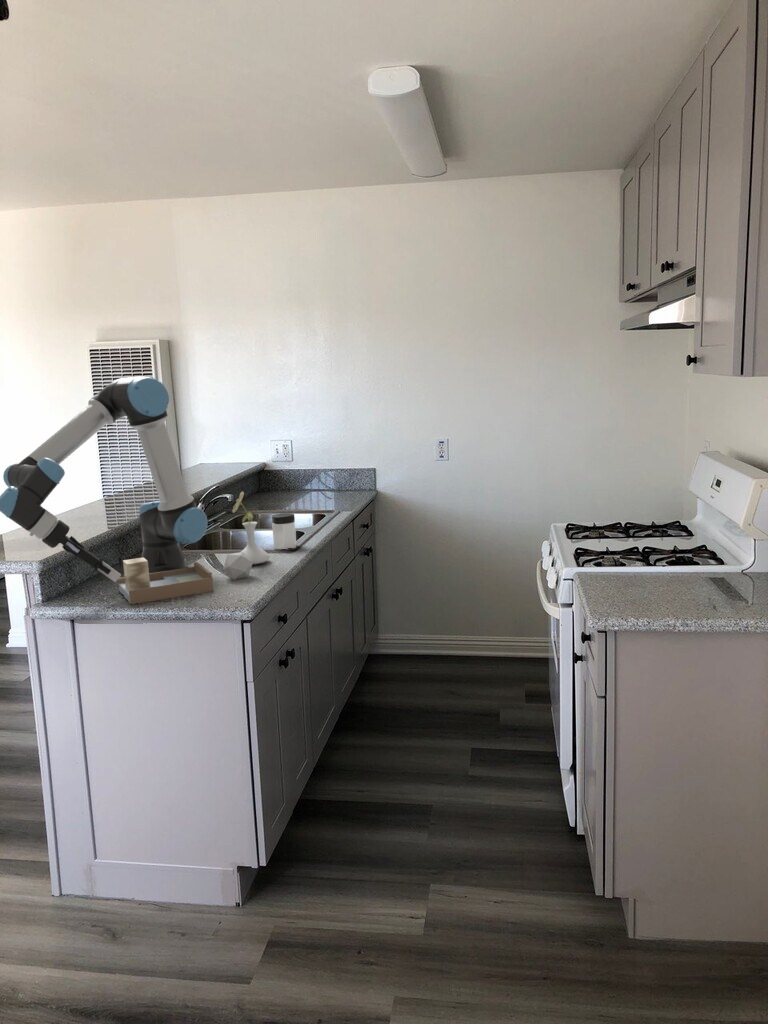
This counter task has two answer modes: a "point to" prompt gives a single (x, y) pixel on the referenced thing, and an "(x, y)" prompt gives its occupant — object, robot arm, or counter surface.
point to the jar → (284, 530)
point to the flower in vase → (251, 537)
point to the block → (136, 573)
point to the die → (237, 565)
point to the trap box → (171, 584)
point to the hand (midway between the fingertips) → (117, 578)
